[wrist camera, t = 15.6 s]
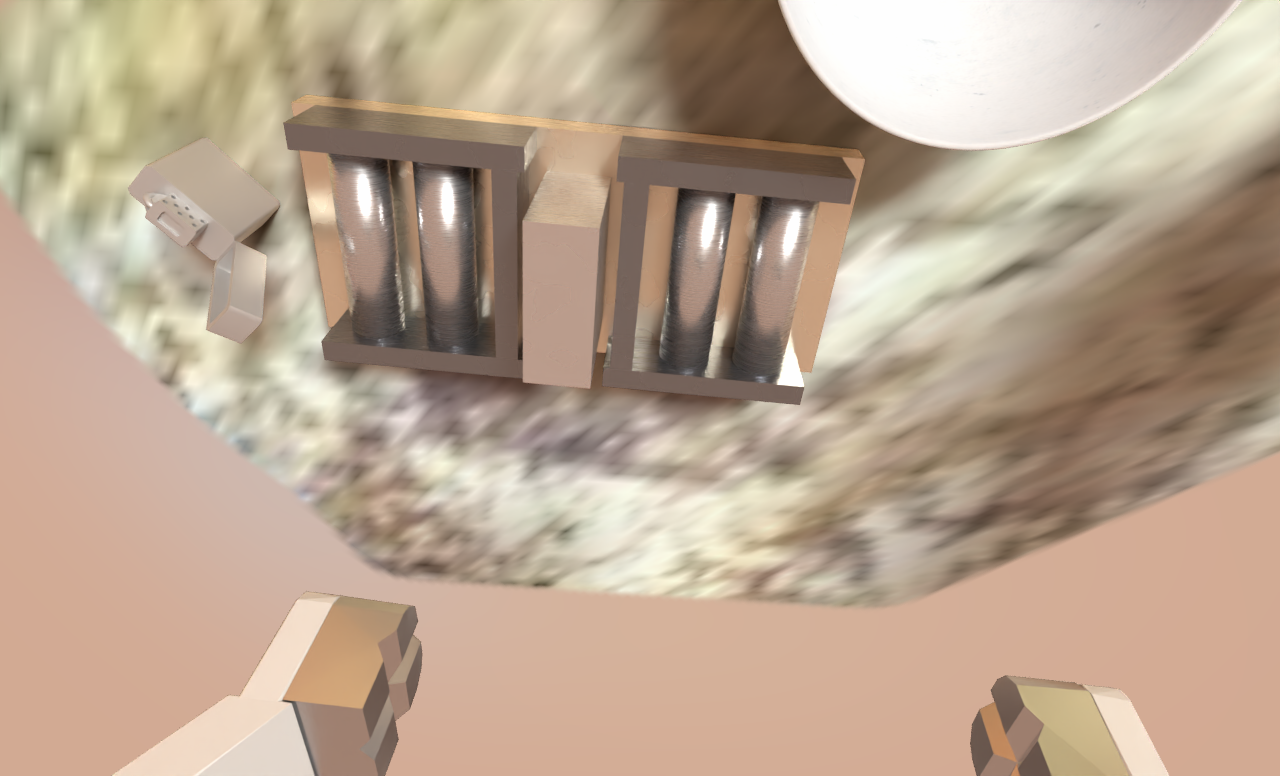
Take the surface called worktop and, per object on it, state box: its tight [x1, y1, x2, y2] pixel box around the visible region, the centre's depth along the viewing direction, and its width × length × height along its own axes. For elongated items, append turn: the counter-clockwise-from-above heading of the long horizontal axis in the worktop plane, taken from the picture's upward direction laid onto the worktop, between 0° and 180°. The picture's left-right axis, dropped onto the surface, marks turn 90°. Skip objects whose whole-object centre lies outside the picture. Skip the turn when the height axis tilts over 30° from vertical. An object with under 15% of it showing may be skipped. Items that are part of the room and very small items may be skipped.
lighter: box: [128, 138, 280, 343], centre depth 31 cm, size 7×2×8 cm, turn 41°
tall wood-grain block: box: [523, 171, 612, 389], centre depth 31 cm, size 3×7×6 cm, turn 175°
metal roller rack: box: [284, 95, 865, 405], centre depth 33 cm, size 24×11×4 cm, turn 85°
